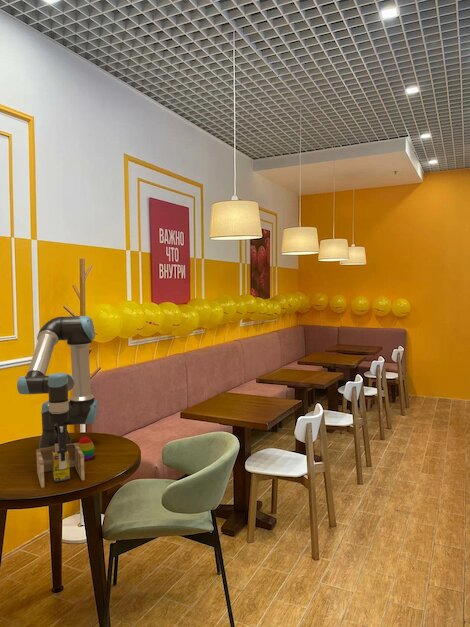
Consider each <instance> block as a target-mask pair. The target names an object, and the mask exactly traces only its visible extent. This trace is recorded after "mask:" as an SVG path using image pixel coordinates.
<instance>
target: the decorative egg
mask: <svg viewBox="0 0 470 627" xmlns="http://www.w3.org/2000/svg"><path fill="white" fill-rule="evenodd" d="M76 443H77V444H78V446H79V448H80V449H81V451H82V453H83V454H84V461H89V460H91V459H92V458H93V456H95V455H94V454H95V444H94V443H93V441H92V440H91V438H90V437H88V436H82V437H81V438H80V439H79V440H78V442H76Z"/></svg>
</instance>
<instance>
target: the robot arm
mask: <svg viewBox="0 0 470 627" xmlns="http://www.w3.org/2000/svg"><path fill="white" fill-rule="evenodd" d="M95 331H96V330H95V324H94V321H93V319H92V318H91V317H90V316H89V315H88V316H87V315H75V316H71V315H70V316H57V317H53V318H51V319H49V320H48V321H47V322H46V323H44V324H43V325H42V327H41V328H40V329H39V331H38V333H37V336H36V337H37V343H36V345H35V349H34V353H33V355H32V358H31V361H30V363H29V367H28V369H27V373H26V375H23V376H20V377H18V378H17V383H16V390H17V392H18V394H19V395H29V396H30V395H43V394H46V395H47V394H48V400H46V401H44V402H43V403H42V404H41V412H40V413H41V428H42V429H41V430H42V432H41V435H40V439H39V443H38V449H39V448H46V447H52V446H55V452H57V454H58V453H59V470H60V469H66V468H67V463H66V452H67V448H66V444H72V438H71V436H70V433H69V431H68V426H71V425H72V426H73V425H75V426H77V425H88V424H94V423H95V421H96V420H97V415H98V409H99V408H98V407H99V401H98V400H97V399H95V395H94V394H93V393H92V389H91V368H90V351H89V350H90V349H89V348H90V347H89V346H90V345H91V344H92V340H94V339H96V338H95V336H96V334H95V333H96V332H95ZM59 341H66V345H67V346H68V347H69V348H70V359H71V360H70V363H71V364H70V365H71V366H70V368H71V374H70V373H66V372H55V373H50V374H48V375H46V374H47V371H48V369H49V365H50V362H51V358H52V354H53V351H54V348H55V346H57V344H58V342H59ZM70 391H72V395H71V396H70V398H69V392H70Z"/></svg>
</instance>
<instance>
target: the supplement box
mask: <svg viewBox="0 0 470 627" xmlns="http://www.w3.org/2000/svg"><path fill="white" fill-rule="evenodd" d="M52 462H53V471H52V480H53V482H54V484H55V483H61V482H65V481H70V480H71V474H70V473H71V472H70V468H71V467H70V468H69V453H68V451H67V452H66V463H67V468H66V469H60V470H59V453H58V454H57V452H52Z"/></svg>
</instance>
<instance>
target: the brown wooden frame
mask: <svg viewBox="0 0 470 627" xmlns="http://www.w3.org/2000/svg"><path fill="white" fill-rule="evenodd" d="M77 443H78V442H74V443H72V442H71V444H66V448H67V451H68V453H69V468H75V470H76V472H77V475H78V476H79V478H80V480H81V481H85V479H86V478H85V460H84V454H83V453H82V451H81V449H80V448H79V446H78V444H77ZM52 452H55V446H52V447H46V448H39V447H38V448H36V449H35V453H36V456H35V457H36V474H37V478H38V482H39V485H40V488H41V489H43V488H45V473H46V472H53V462H52Z"/></svg>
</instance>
